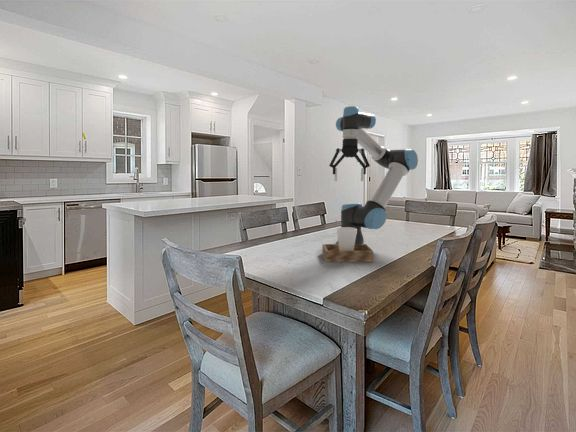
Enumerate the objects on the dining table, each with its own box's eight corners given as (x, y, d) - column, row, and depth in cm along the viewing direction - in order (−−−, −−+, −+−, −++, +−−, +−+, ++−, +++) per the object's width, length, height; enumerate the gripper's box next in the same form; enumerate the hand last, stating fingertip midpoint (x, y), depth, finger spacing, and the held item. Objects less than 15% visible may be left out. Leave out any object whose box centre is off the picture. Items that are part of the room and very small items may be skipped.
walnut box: (325, 261, 156) (326, 251, 155) (322, 253, 171) (322, 244, 170) (372, 261, 156) (373, 251, 155) (365, 253, 171) (365, 244, 170)
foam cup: (354, 258, 157) (355, 231, 155) (334, 256, 160) (335, 229, 159) (357, 253, 166) (358, 227, 164) (338, 252, 169) (339, 226, 167)
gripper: (326, 137, 165) (325, 181, 168) (376, 138, 165) (375, 181, 168) (324, 139, 172) (323, 180, 175) (372, 139, 172) (371, 180, 175)
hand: (348, 181), depth 171 cm, fingers open, 13 cm apart
